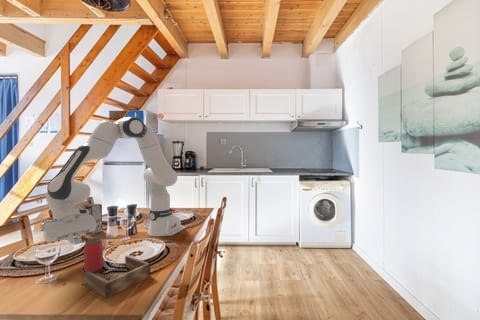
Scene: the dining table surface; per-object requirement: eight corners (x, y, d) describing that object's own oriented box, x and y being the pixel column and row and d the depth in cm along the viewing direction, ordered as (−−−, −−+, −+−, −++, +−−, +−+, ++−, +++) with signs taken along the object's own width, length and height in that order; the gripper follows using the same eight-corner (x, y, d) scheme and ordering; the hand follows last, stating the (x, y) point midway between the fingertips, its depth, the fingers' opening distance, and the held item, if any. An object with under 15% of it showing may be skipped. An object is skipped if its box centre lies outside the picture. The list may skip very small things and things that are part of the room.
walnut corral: (127, 267, 107) (127, 255, 107) (150, 276, 100) (150, 263, 100) (84, 285, 93) (84, 272, 92) (107, 298, 85) (107, 283, 85)
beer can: (94, 274, 101) (94, 244, 101) (80, 272, 103) (79, 242, 102) (106, 266, 108) (106, 238, 107) (93, 265, 109) (92, 237, 108)
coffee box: (102, 230, 154) (102, 204, 153) (92, 234, 148) (92, 206, 147) (92, 228, 158) (92, 202, 157) (82, 231, 152) (81, 204, 151)
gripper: (41, 218, 106) (52, 246, 101) (91, 209, 123) (103, 232, 118) (36, 227, 108) (47, 255, 103) (87, 216, 125) (98, 240, 121)
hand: (77, 243), depth 111 cm, fingers closed
